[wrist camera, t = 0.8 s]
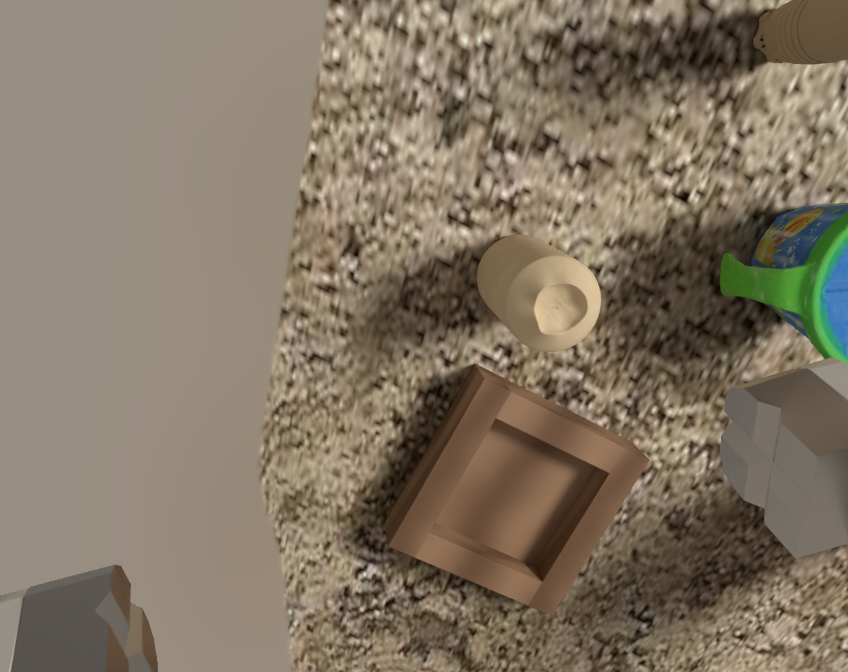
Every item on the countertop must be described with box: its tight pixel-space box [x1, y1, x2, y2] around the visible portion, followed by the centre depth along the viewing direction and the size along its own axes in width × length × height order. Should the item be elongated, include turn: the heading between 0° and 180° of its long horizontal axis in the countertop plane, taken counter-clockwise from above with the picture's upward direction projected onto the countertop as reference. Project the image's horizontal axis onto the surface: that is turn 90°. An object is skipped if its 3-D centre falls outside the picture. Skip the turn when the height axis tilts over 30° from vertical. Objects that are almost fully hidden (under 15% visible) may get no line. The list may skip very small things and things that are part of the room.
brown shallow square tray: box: [384, 364, 649, 616], centre depth 56 cm, size 13×13×3 cm
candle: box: [477, 235, 601, 352], centre depth 49 cm, size 6×6×10 cm
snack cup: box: [720, 203, 848, 365], centre depth 51 cm, size 16×10×10 cm
